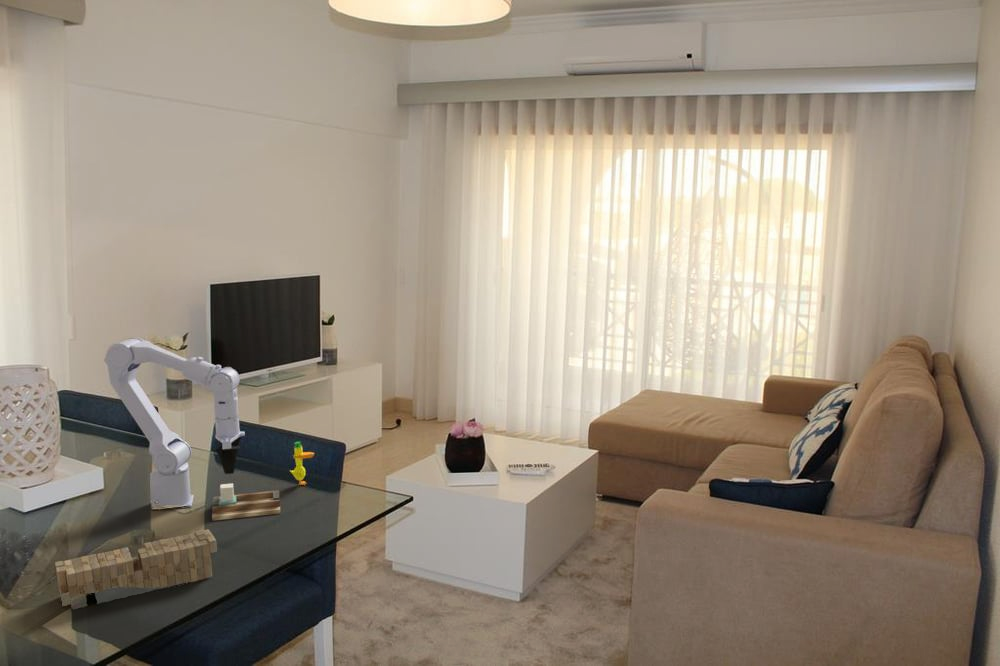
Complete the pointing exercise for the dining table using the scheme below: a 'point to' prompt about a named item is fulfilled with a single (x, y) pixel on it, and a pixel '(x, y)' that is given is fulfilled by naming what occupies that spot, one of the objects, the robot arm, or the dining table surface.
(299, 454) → the toy figure
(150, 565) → the block tower
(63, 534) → the dining table surface
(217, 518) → the track
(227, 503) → the slider
